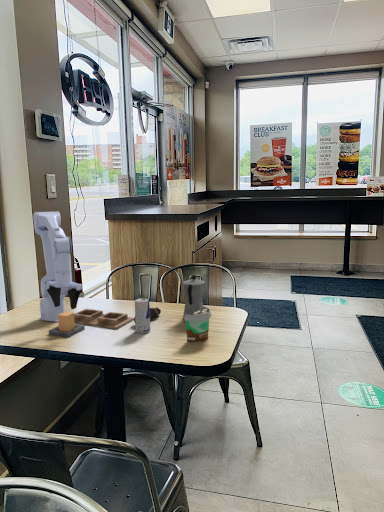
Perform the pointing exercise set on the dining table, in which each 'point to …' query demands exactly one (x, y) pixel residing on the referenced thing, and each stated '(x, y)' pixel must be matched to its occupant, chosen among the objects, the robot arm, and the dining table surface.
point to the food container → (198, 325)
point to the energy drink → (142, 315)
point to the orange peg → (66, 321)
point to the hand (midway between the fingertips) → (65, 307)
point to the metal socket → (66, 334)
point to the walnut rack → (102, 318)
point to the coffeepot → (193, 295)
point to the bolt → (153, 313)
